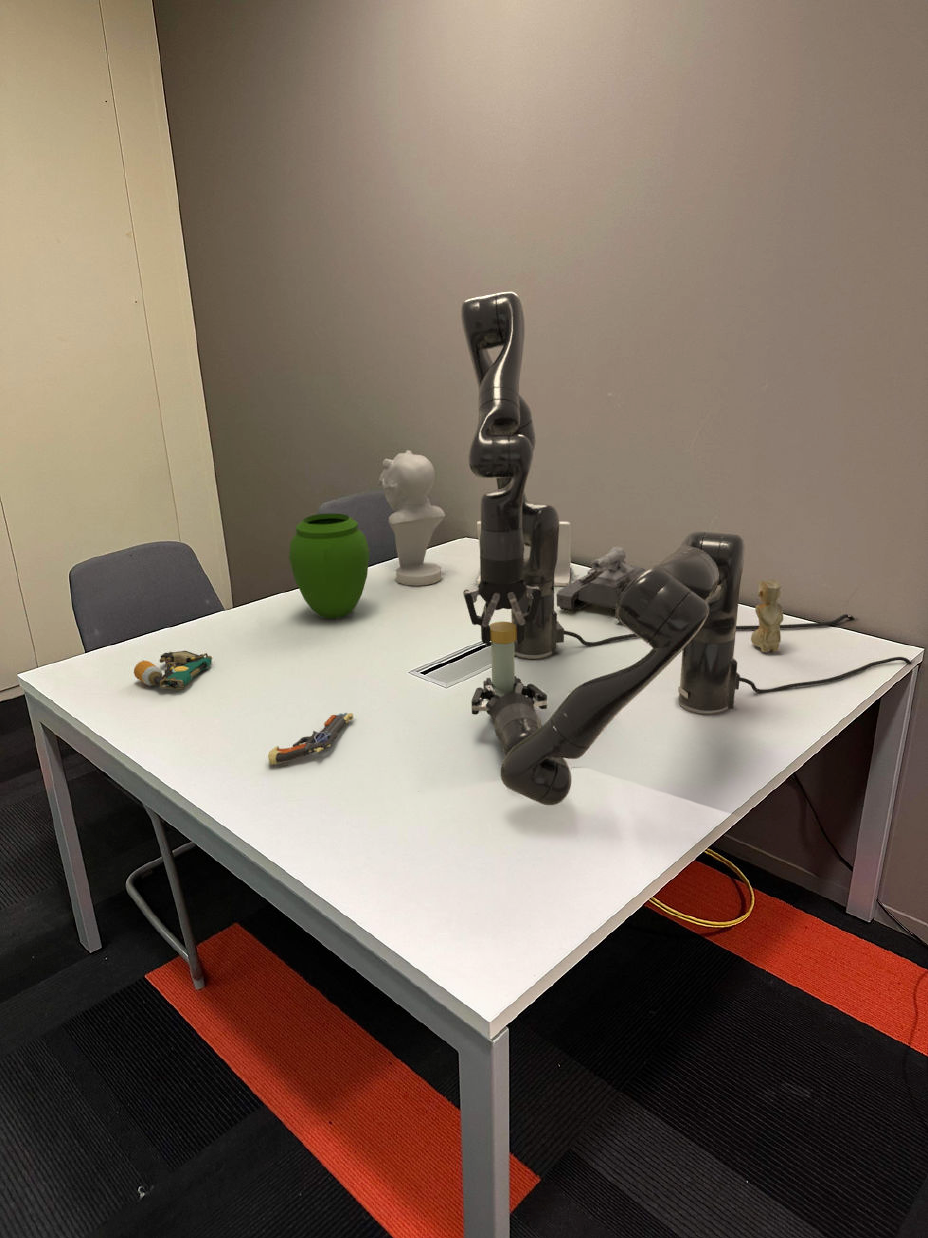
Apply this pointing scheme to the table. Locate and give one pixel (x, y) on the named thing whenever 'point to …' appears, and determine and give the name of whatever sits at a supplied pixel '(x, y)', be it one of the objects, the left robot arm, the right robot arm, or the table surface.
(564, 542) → the tablet stand
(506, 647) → the jar
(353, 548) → the vase
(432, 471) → the bust sculpture
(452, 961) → the table surface
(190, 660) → the spray gun
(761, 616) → the sculpture
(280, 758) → the toy gun
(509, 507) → the left robot arm
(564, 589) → the toy
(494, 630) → the lid
